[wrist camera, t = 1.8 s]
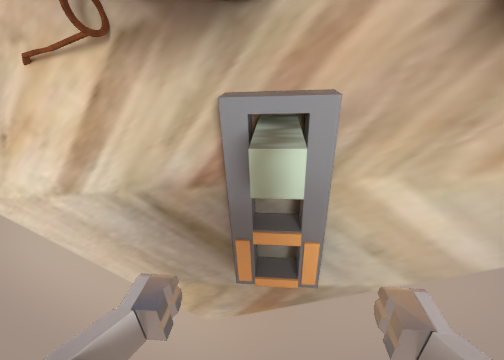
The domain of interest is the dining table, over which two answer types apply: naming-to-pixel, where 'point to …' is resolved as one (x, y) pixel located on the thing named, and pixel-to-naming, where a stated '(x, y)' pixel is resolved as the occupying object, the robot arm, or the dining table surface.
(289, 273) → the board
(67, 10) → the glasses
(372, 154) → the dining table surface
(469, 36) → the dining table surface
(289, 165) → the peg
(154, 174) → the dining table surface
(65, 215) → the dining table surface
